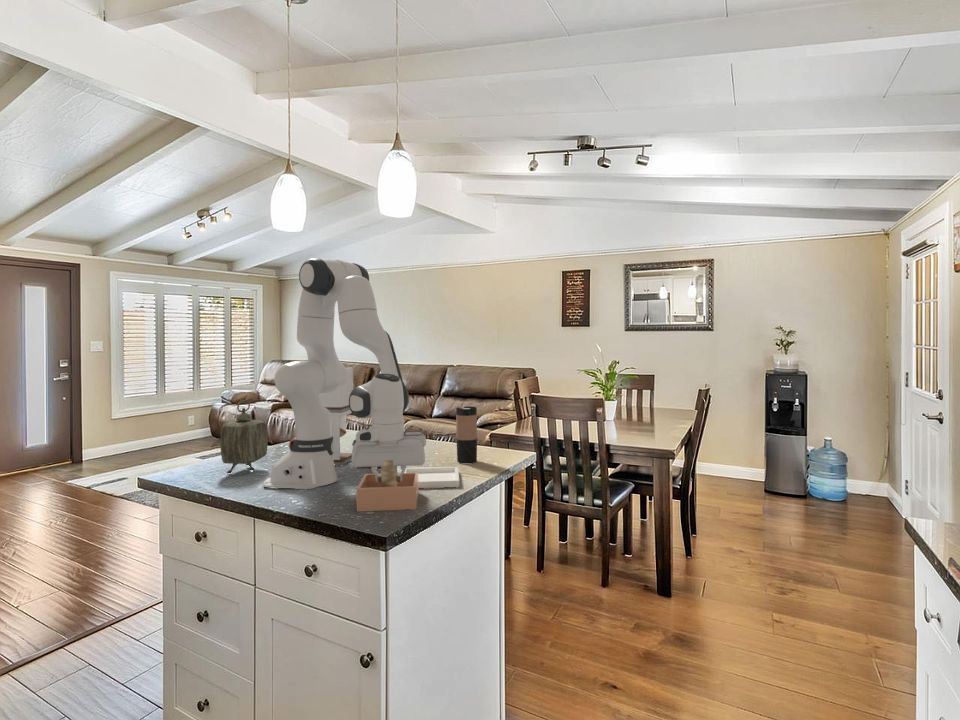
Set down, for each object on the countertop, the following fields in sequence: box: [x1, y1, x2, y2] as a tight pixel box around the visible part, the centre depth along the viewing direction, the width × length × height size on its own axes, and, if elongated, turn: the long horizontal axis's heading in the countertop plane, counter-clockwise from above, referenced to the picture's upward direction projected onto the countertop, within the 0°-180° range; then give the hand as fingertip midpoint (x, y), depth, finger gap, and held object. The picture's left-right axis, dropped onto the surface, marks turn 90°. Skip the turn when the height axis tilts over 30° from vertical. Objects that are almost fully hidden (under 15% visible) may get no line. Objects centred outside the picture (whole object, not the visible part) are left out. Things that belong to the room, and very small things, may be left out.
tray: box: [404, 466, 460, 489], centre depth 171 cm, size 18×18×2 cm
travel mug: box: [455, 405, 478, 464], centre depth 197 cm, size 8×8×20 cm
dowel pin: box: [380, 460, 398, 487], centre depth 150 cm, size 4×4×12 cm
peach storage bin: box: [356, 472, 420, 512], centre depth 150 cm, size 16×16×6 cm
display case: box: [319, 366, 354, 466], centre depth 199 cm, size 11×11×35 cm
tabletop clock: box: [219, 399, 268, 474], centre depth 185 cm, size 14×9×25 cm, turn 171°
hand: (389, 481), depth 150 cm, fingers closed on dowel pin, 4 cm apart
